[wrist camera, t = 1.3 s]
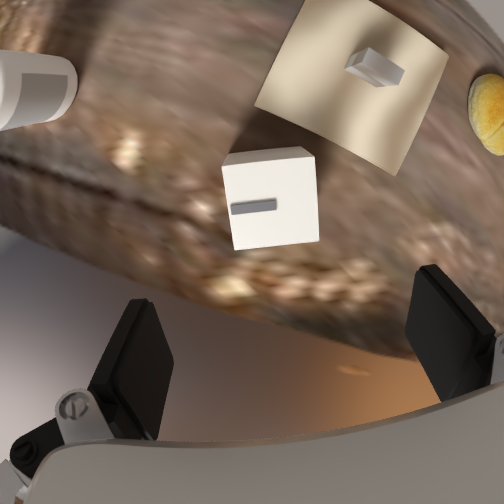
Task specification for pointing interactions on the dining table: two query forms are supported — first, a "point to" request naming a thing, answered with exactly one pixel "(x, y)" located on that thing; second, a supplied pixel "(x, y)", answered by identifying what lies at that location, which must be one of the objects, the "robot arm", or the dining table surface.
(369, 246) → the dining table surface
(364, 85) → the beige square plate
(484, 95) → the bread roll
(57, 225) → the dining table surface
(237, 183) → the white slotted cube
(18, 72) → the white plastic bottle
